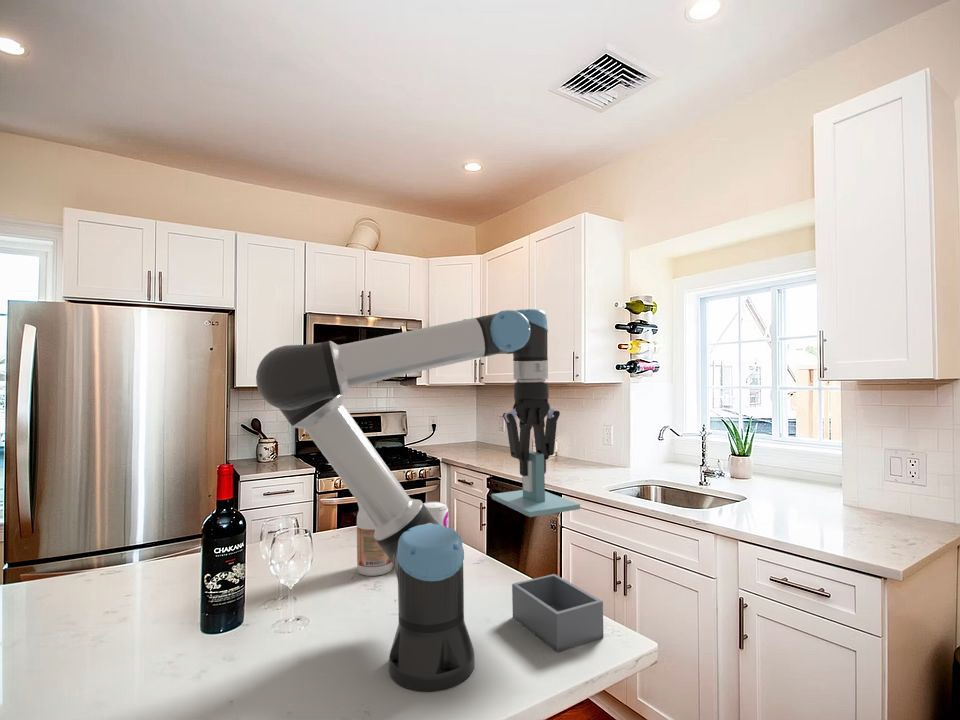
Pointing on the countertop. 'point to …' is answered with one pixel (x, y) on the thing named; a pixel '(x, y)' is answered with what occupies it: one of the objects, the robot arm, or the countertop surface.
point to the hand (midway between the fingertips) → (533, 489)
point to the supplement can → (439, 512)
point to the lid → (535, 494)
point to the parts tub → (557, 611)
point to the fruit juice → (369, 548)
